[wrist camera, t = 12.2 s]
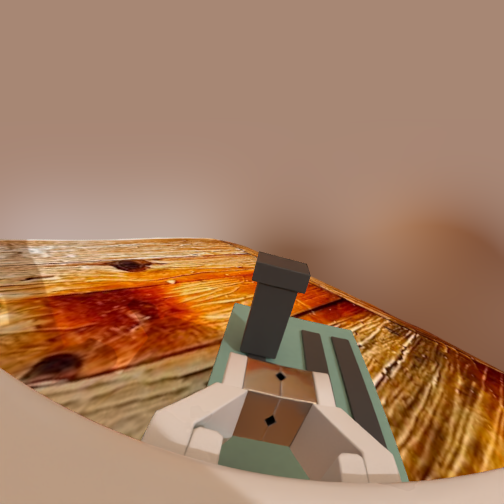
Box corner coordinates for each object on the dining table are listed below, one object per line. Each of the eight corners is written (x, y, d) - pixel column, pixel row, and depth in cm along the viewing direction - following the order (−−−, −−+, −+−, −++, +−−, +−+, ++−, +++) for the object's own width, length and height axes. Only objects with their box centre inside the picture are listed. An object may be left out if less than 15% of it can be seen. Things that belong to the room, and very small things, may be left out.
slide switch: (232, 351, 19) (256, 261, 18) (237, 333, 22) (259, 251, 20) (281, 363, 19) (310, 275, 18) (281, 344, 22) (307, 263, 20)
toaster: (168, 534, 12) (179, 465, 10) (215, 379, 30) (235, 300, 28) (336, 554, 12) (415, 489, 10) (319, 402, 30) (352, 328, 27)
